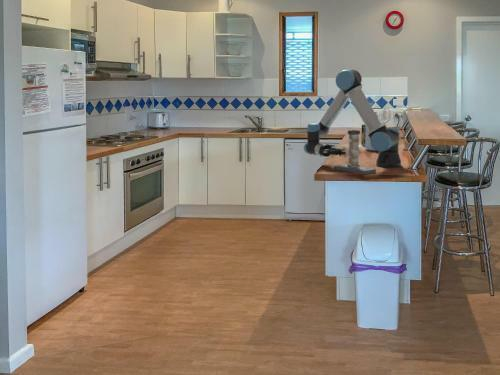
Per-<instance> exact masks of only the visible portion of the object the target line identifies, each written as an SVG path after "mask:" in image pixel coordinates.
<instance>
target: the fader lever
mask: <svg viewBox="0 0 500 375" xmlns="http://www.w3.org/2000/svg"><path fill="white" fill-rule="evenodd" d="M347 134H348V151H349V156H348V164H346V165H347V167H352V168H355V167H361V166H360V164H359V150H360V149H359V146H360V144H359V142H360V135H361V130H357V129H355V130H354V129H353V130H347Z"/></svg>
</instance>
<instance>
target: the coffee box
mask: <svg viewBox="0 0 500 375" xmlns="http://www.w3.org/2000/svg"><path fill="white" fill-rule="evenodd" d="M365 139H366V126H365V124H361V146H362V147H365Z"/></svg>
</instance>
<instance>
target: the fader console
mask: <svg viewBox="0 0 500 375" xmlns="http://www.w3.org/2000/svg"><path fill="white" fill-rule="evenodd" d="M347 165H348V164H340V165H339V164H338V165H333V170H338V171H342V170H343V171H342V172H348V171H349V173H355V174H360V175H361V174H362V175H369V173H370V174H376V173H377V169H375V168H371V167H365V166H364V167H363V166H360V167H355V168H352V167H347Z"/></svg>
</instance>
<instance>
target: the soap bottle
mask: <svg viewBox="0 0 500 375" xmlns="http://www.w3.org/2000/svg"><path fill="white" fill-rule="evenodd" d="M368 132H369V131H368V129H367V127H366V139H365V146H364V148H365V149H364V150H365V151H373V152H376V151H377V150H375V149H373V147H372V146H371V143H370V138H369V136H368Z"/></svg>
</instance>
